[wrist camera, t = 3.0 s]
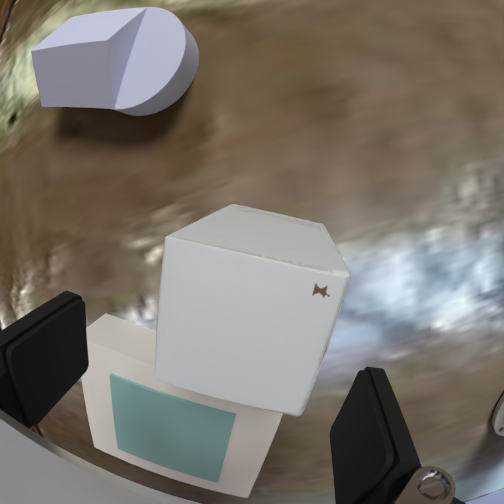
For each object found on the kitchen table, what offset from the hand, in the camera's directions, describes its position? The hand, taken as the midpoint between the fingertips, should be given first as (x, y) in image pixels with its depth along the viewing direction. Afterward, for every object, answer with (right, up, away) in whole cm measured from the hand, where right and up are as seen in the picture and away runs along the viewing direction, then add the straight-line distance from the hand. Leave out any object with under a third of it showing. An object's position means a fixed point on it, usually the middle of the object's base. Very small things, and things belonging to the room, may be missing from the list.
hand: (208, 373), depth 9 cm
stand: (-6, -12, +20) cm, 23 cm away
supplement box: (+3, +3, +15) cm, 16 cm away
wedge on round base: (-9, +20, +13) cm, 25 cm away
